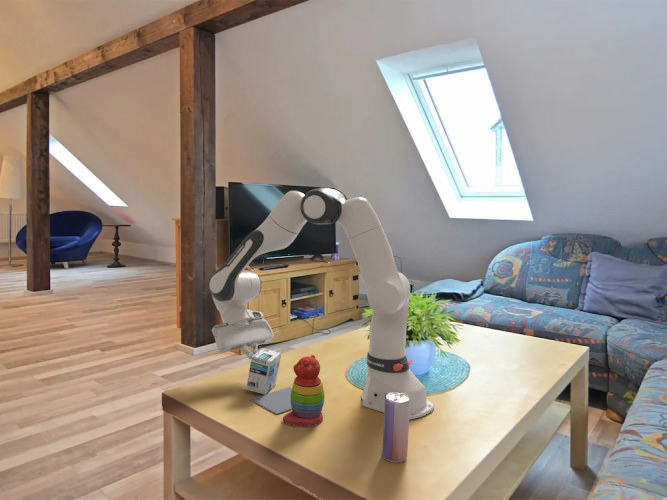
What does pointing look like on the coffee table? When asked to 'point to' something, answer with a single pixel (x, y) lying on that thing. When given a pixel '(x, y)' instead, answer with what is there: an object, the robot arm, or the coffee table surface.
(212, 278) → the robot arm
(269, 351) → the light bulb box
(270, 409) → the mat
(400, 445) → the beverage can
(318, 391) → the stacking bear
